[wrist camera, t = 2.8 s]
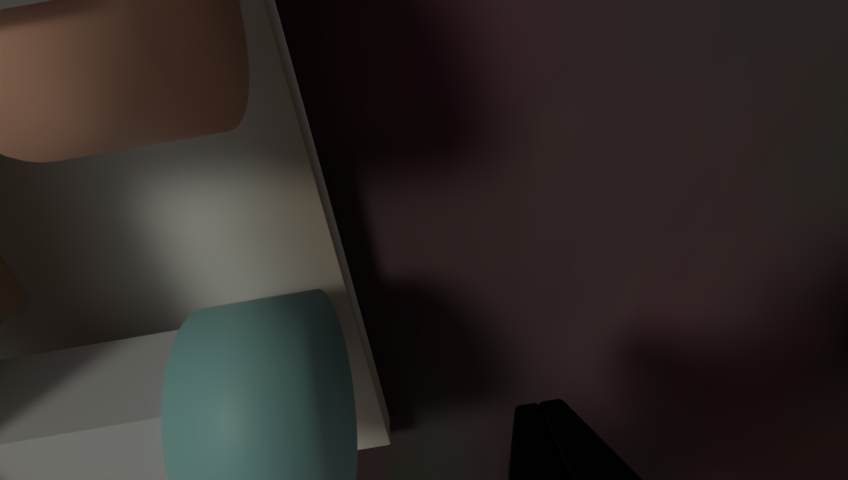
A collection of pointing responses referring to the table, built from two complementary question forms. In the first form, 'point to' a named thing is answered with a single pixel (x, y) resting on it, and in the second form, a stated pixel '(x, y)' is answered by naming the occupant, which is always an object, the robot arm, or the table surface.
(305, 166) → the mount
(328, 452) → the teal knob
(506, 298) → the table surface
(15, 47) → the terracotta knob
